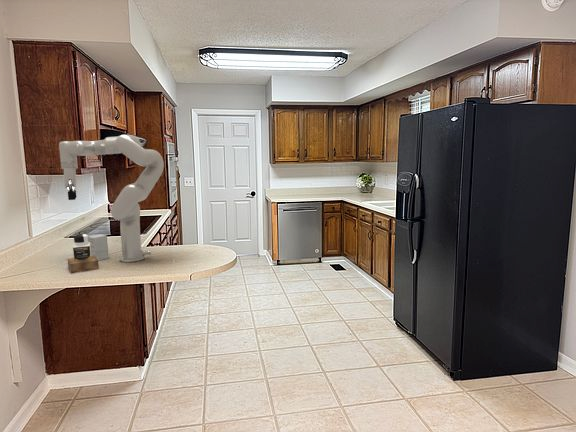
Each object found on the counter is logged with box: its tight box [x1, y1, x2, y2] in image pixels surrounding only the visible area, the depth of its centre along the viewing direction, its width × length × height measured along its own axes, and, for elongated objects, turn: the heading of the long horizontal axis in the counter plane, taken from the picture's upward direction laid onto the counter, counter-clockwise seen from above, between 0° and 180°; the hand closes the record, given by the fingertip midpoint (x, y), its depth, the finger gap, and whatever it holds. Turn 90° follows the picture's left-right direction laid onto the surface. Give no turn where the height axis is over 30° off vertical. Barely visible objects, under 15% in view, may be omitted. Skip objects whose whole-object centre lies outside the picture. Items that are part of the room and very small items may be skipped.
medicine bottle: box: [72, 233, 92, 261], centre depth 196 cm, size 7×7×12 cm
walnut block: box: [66, 255, 100, 274], centre depth 197 cm, size 12×12×5 cm
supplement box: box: [88, 233, 110, 261], centre depth 214 cm, size 7×7×13 cm
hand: (72, 198), depth 210 cm, fingers open, 9 cm apart
